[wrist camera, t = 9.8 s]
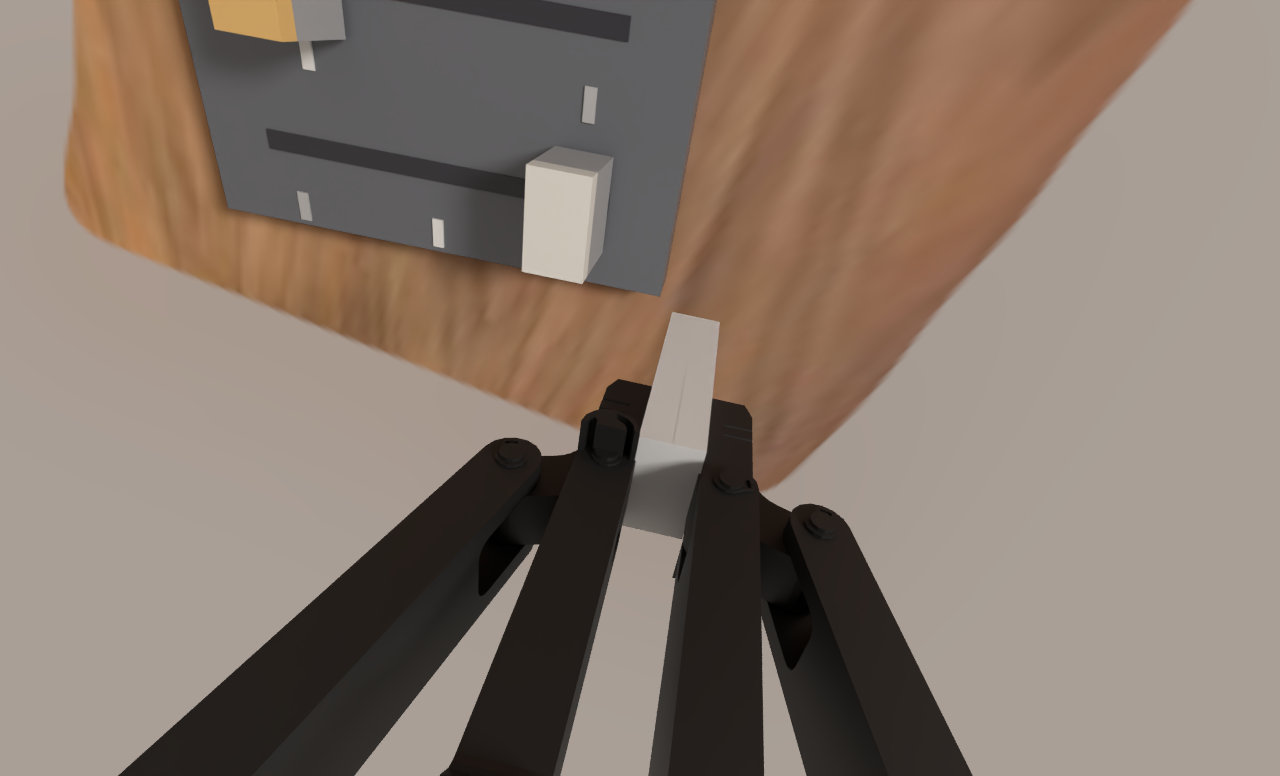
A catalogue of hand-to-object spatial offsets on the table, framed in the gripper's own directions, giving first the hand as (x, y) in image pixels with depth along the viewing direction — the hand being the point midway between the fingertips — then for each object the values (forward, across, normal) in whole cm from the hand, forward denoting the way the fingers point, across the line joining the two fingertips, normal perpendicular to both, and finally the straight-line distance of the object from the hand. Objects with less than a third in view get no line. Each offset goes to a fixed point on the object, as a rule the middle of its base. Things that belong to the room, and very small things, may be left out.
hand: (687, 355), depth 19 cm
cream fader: (+14, -7, 0) cm, 15 cm away
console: (+17, -15, +3) cm, 23 cm away
